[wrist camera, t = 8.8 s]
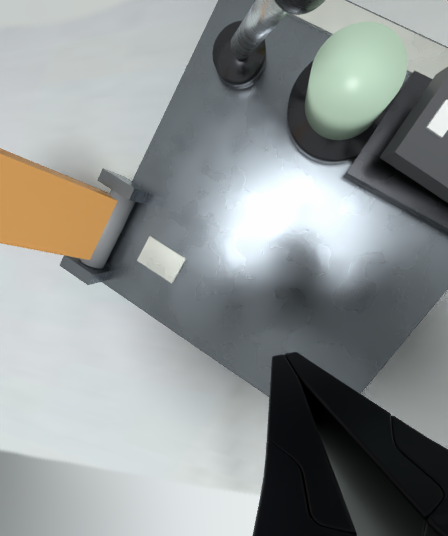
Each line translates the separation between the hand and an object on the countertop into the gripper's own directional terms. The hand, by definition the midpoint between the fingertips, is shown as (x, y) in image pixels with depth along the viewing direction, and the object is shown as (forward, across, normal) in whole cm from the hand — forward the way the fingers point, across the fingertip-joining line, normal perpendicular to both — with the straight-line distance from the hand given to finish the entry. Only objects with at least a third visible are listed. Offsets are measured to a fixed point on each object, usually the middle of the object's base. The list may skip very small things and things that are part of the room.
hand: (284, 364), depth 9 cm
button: (+8, -6, -9) cm, 13 cm away
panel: (+10, -4, -3) cm, 11 cm away
